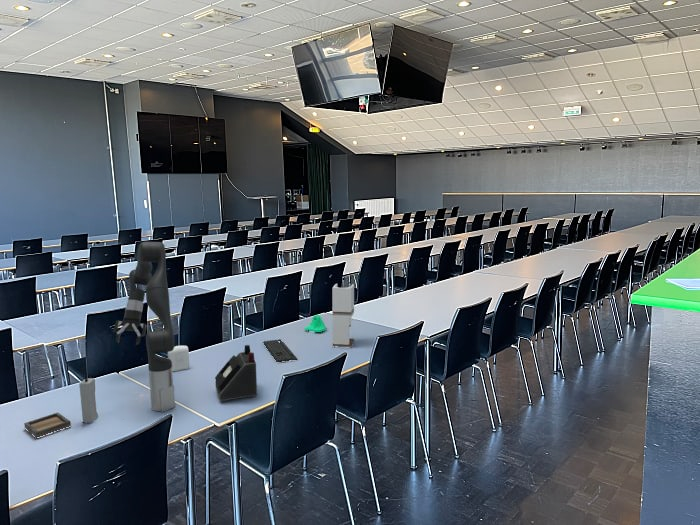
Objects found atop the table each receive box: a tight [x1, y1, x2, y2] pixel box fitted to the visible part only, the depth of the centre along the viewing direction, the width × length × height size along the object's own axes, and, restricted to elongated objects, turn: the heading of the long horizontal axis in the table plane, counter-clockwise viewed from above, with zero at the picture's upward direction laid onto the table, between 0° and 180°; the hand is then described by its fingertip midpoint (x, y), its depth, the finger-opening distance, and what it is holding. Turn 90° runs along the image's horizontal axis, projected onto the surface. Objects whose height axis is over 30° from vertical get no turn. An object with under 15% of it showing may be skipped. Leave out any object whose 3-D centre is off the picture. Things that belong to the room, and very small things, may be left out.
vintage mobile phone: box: [79, 360, 99, 423], centre depth 199 cm, size 4×5×25 cm
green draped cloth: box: [303, 314, 327, 333], centre depth 319 cm, size 12×8×10 cm, turn 59°
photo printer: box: [167, 345, 190, 373], centre depth 254 cm, size 10×4×12 cm, turn 124°
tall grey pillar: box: [331, 283, 355, 348], centre depth 291 cm, size 11×11×35 cm
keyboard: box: [262, 338, 298, 363], centre depth 282 cm, size 35×11×2 cm, turn 22°
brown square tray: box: [24, 412, 72, 439], centre depth 194 cm, size 12×12×2 cm
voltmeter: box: [214, 344, 258, 403], centre depth 225 cm, size 16×16×20 cm
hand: (127, 343), depth 241 cm, fingers open, 8 cm apart
